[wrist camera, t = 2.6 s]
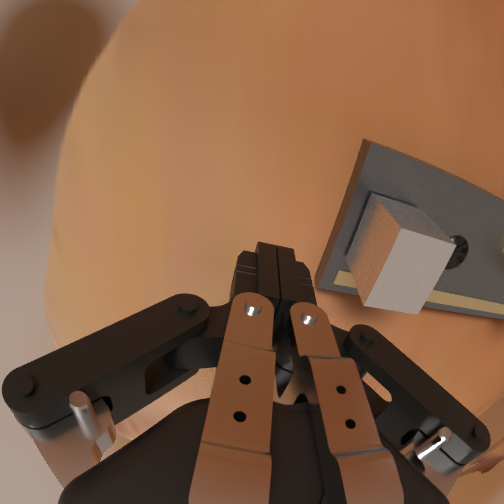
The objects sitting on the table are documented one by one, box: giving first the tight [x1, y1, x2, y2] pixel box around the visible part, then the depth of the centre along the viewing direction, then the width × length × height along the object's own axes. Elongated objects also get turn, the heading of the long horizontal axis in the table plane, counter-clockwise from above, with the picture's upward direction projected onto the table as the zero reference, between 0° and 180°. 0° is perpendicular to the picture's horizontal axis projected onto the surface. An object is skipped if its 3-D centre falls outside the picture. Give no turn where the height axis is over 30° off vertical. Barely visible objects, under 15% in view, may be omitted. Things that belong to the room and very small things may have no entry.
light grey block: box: [345, 193, 456, 314], centre depth 18 cm, size 4×5×5 cm
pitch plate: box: [315, 139, 504, 320], centre depth 19 cm, size 26×11×8 cm, turn 77°
